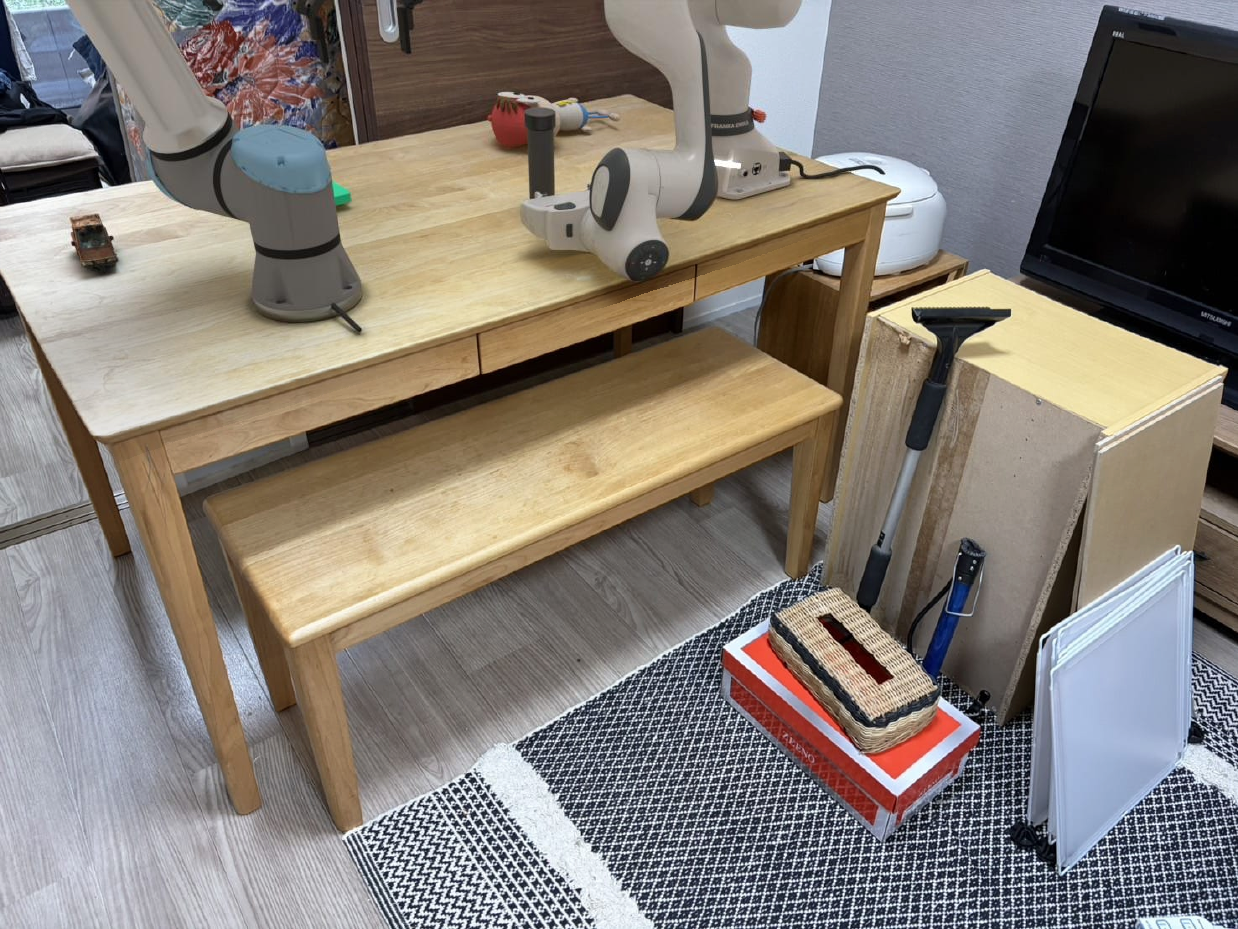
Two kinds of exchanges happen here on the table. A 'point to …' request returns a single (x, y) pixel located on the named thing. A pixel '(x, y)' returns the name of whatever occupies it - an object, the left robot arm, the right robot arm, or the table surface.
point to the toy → (513, 105)
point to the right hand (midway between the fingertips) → (565, 191)
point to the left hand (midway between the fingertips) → (366, 56)
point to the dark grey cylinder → (541, 161)
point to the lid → (540, 118)
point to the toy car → (92, 242)
